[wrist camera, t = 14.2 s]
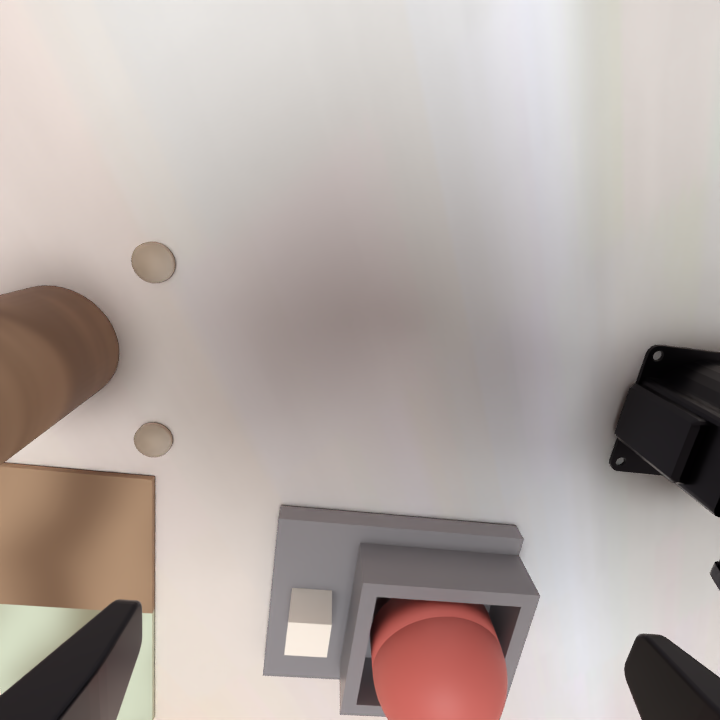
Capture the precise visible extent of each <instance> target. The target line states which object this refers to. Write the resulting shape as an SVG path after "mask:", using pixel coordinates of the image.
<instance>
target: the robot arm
mask: <svg viewBox="0 0 720 720" xmlns="http://www.w3.org/2000/svg"><path fill="white" fill-rule="evenodd" d="M657 351H661V353H662V354H661V357H660V358H659V359H658V360H654V359H653V355H654V353H655V352H657ZM615 435H616V437H617V439H616V442H615V445H614V448H613V451H612V454H611V456H610V459H609V464H610V466H611V467H612V468H613V469H614V470H616V471H623V472H633V473H644V474H654V475H663V476H665V477H666V478H667V479H668V480H669V481H671V482H673V483H675V484H676V485H678V486H679V487H680V488H681V489H683V490H684V491H685V492H686V493H688V494H689V495H690V496H691V497H693V498H694V499H695V500H696V501H698V502H699V503H700V504H701V505H703V506H704V507H705V508H706V509H707V510H709V511H710V512H711V513H712V514H714V515H715V516H717V517H720V352H714V351H706V350H699V349H691V348H683V347H675V346H667V345H654V346H652V347H651V348H649V349H648V351H647V353H646V355H645V358H644V361H643V364H642V366H641V369H640V372H639V375H638V378H637V381H636V384H634V385H632V386H631V388H630V389H629V392H628V395H627V398H626V401H625V404H624V407H623V410H622V413H621V415H620V418H619V421H618V424H617V427H616V430H615ZM622 457H623V458H624V462H623V463H622V464H620V465H616V461H617V459H619V458H622ZM710 575H711V577H712V579H713V580H714V582H715V584H716V585H717V587H718V589H719V590H720V560H719V561H717V562H715V563H714V565H713V567H712V570H711V572H710ZM141 644H142V604H141V602H140V601H137V600H124V599H118V600H115V601H113V602H112V603H110V604H109V605H108V606H107V607H106V608H104V609H103V610H102V611H101V612H100V613H98V614H97V615H96V616H95V617H94V618H92V619H91V620H90V621H89V622H88V623H86V624H85V625H84V626H83V627H82V628H80V629H79V630H78V631H77V632H76V633H74V634H73V635H72V636H71V637H70V638H68V639H67V640H66V641H65V642H64V643H62V644H61V645H60V646H59V647H58V648H56V649H55V650H54V651H53V652H52V653H50V654H49V655H48V656H47V657H46V658H44V659H43V660H42V661H41V662H40V663H38V664H37V665H36V666H35V667H34V668H32V669H31V670H30V671H29V672H28V673H27V674H25V675H24V676H23V677H22V678H21V679H19V680H18V681H17V682H16V683H15V684H13V685H12V686H11V687H10V688H9V689H7V690H6V691H5V692H4V693H3V694H1V695H0V720H116V719H117V716H118V714H119V711H120V708H121V705H122V702H123V699H124V696H125V693H126V690H127V687H128V684H129V681H130V678H131V675H132V673H133V670H134V667H135V664H136V661H137V658H138V655H139V652H140V648H141ZM624 671H625V678H626V681H627V684H628V686H629V689H630V691H631V694H632V696H633V699H634V701H635V704H636V707H637V709H638V712H639V714H640V717H641V719H642V720H720V677H718V676H717V675H716V674H714V673H713V672H712V671H710V670H709V669H708V668H706V667H705V666H704V665H702V664H701V663H699V662H698V661H697V660H695V659H694V658H693V657H691V656H690V655H689V654H687V653H686V652H685V651H683V650H682V649H681V648H679V647H678V646H677V645H675V644H674V643H673V642H671V641H670V640H669V639H667V638H666V637H664V636H662V635H657V634H640V635H638V636H637V637H636V639H635V641H634V644H633V646H632V648H631V651H630V653H629V656H628V658H627V660H626V663H625V668H624Z"/></svg>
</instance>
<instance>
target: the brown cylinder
mask: <svg viewBox="0 0 720 720" xmlns="http://www.w3.org/2000/svg"><path fill="white" fill-rule="evenodd" d="M118 360H119V346H118V341H117V337H116V334H115V331H114V329H113V327H112V325H111V323H110V321H109V320H108V319H107V317H106V316H105V314H104V313H103V312H102V311H101V310H100V309H99V308H98V307H97V306H96V305H95V304H94V303H92V302H91V301H90V300H88V299H87V298H85V297H84V296H82V295H80V294H78V293H76V292H74V291H71V290H69V289H65V288H62V287H56V286H35V287H31V288H26V289H22V290H18V291H14V292H10V293H6V294H2V295H0V465H1V464H3V463H4V462H5V461H7V460H8V459H9V458H11V457H12V456H13V455H14V454H16V453H17V452H18V451H20V450H21V449H22V448H24V447H25V446H26V445H28V444H29V443H30V442H32V441H33V440H34V439H36V438H37V437H38V436H40V435H41V434H42V433H44V432H45V431H46V430H48V429H49V428H50V427H52V426H53V425H54V424H55V423H57V422H58V421H59V420H61V419H62V418H63V417H65V416H66V415H67V414H69V413H70V412H71V411H73V410H74V409H75V408H77V407H78V406H79V405H81V404H82V403H83V402H85V401H86V400H87V399H89V398H90V397H91V396H93V395H94V394H95V393H96V392H98V391H99V390H100V389H102V388H103V387H104V386H105V385H106V384H107V383H108V382H109V381H110V379H111V378H112V376H113V375H114V373H115V371H116V368H117V365H118Z"/></svg>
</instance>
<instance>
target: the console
mask: <svg viewBox="0 0 720 720" xmlns="http://www.w3.org/2000/svg"><path fill="white" fill-rule="evenodd" d="M523 540H524V539H523V537H522V535H521V533H520V532H519V530H518V528H517V526H514V525H502V524H491V523H479V522H467V521H456V520H444V519H433V518H421V517H409V516H398V515H386V514H375V513H363V512H351V511H340V510H328V509H316V508H305V507H293V506H282V505H281V508H280V513H279V519H278V529H277V539H276V549H275V559H274V569H273V579H272V589H271V599H270V609H269V619H268V629H267V640H266V650H265V660H264V670H263V675H265V676H284V677H303V678H321V679H340V715H360V716H382V717H386V715H385V714H384V712H383V710H382V707H381V705H380V703H379V701H378V698H377V694H376V690H375V686H374V681H373V671H372V658H371V646H370V629H371V625H372V622H373V620H374V618H375V616H376V614H377V613H378V611H379V610H380V609H381V608H382V607H383V605H384V604H386V603H387V602H388V601H389V600H390V599H392V598H400V599H414V600H429V601H443V602H457V603H472V604H483V605H484V606H485V608H486V609H487V611H488V614H489V616H490V619H491V621H492V624H493V627H494V629H495V632H496V635H497V637H498V640H499V643H500V645H501V648H502V651H503V655H504V658H505V662H506V668H507V681H508V685H507V696H508V693H509V690H510V687H511V684H512V681H513V678H514V674H515V671H516V668H517V665H518V662H519V659H520V656H521V653H522V650H523V647H524V644H525V641H526V638H527V635H528V631H529V628H530V625H531V622H532V619H533V616H534V613H535V610H536V607H537V604H538V601H539V598H540V595H539V593H538V591H537V589H536V587H535V585H534V583H533V581H532V579H531V578H530V576H529V574H528V572H527V570H526V568H525V566H524V564H523V562H522V561H521V559H520V557H519V553H520V550H521V547H522V543H523ZM507 696H506V699H507ZM505 702H506V701H505ZM499 720H500V719H499Z"/></svg>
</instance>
